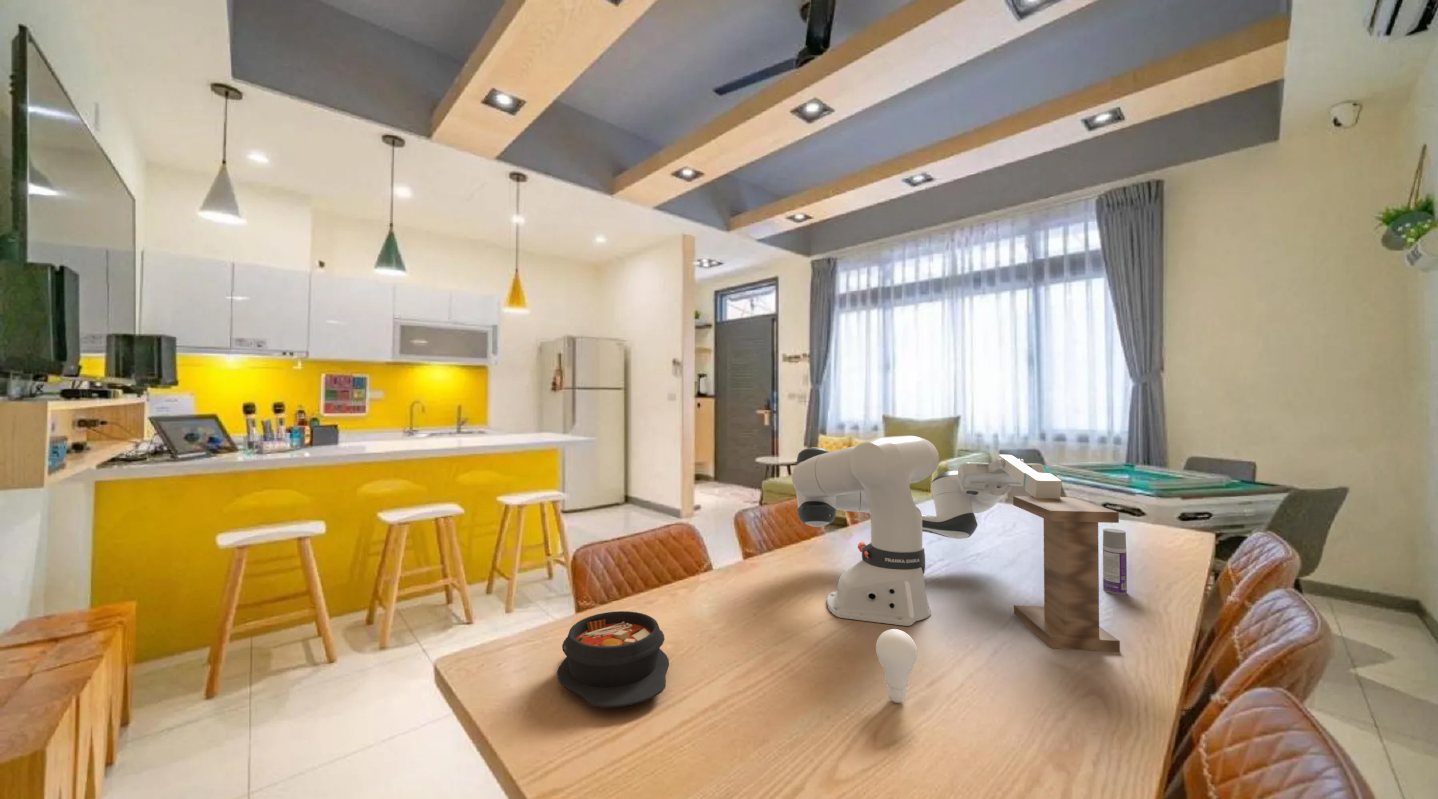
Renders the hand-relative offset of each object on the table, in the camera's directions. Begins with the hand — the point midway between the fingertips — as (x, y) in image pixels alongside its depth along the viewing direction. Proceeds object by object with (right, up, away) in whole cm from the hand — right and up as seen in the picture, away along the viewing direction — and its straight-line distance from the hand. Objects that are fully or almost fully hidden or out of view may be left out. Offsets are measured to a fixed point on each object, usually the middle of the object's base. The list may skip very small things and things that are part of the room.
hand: (1011, 461), depth 130 cm
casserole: (-91, -32, -41) cm, 105 cm away
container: (+25, -32, -1) cm, 41 cm away
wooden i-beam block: (-3, -32, -24) cm, 40 cm away
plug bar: (-1, -4, -6) cm, 7 cm away
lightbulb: (-45, -32, -49) cm, 74 cm away
